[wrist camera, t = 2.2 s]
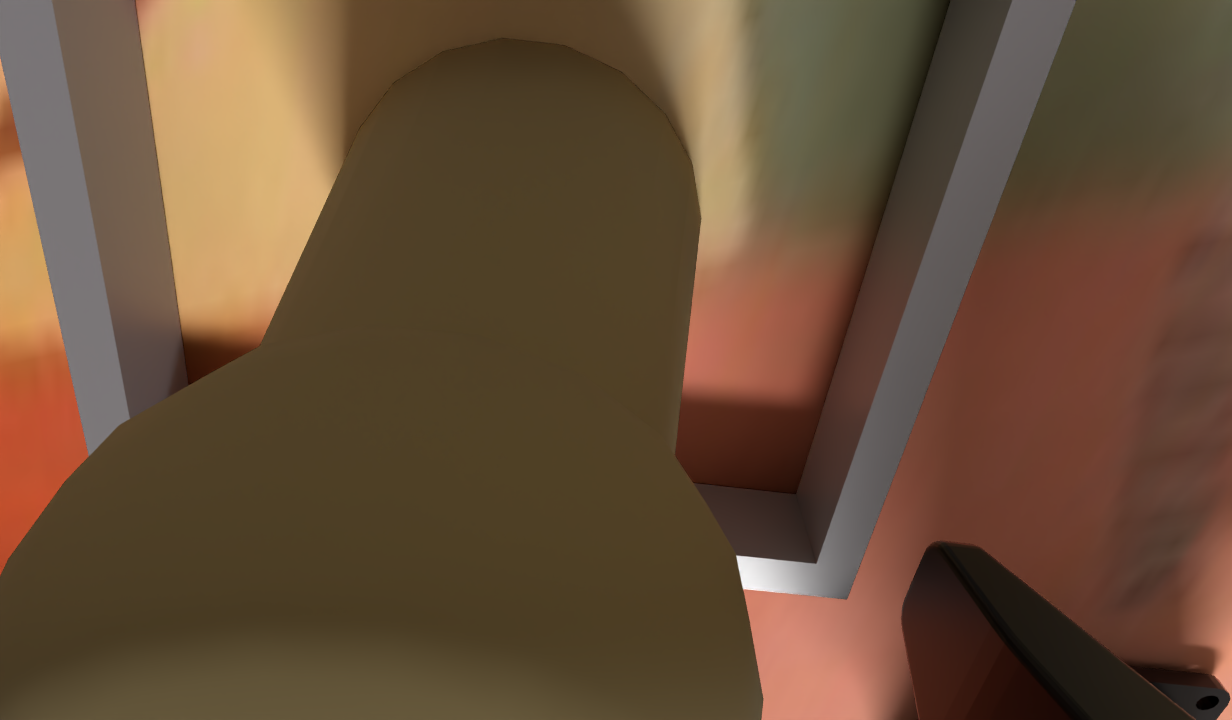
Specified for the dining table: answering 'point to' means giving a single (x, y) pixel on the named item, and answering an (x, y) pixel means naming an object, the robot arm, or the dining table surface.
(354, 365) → the olive game pawn
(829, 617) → the dining table surface
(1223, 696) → the robot arm
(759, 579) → the open gray frame
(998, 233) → the dining table surface
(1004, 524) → the dining table surface
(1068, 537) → the dining table surface
